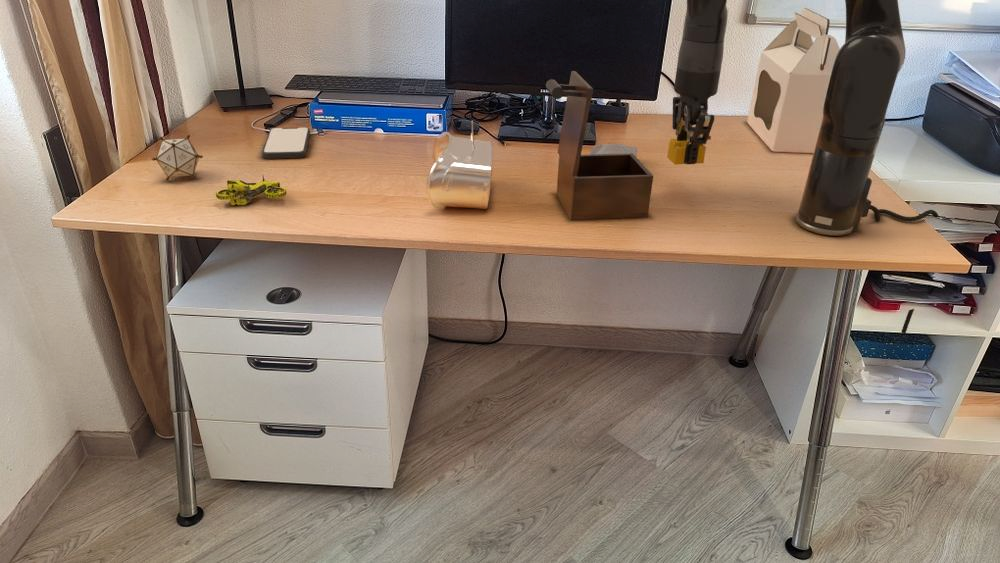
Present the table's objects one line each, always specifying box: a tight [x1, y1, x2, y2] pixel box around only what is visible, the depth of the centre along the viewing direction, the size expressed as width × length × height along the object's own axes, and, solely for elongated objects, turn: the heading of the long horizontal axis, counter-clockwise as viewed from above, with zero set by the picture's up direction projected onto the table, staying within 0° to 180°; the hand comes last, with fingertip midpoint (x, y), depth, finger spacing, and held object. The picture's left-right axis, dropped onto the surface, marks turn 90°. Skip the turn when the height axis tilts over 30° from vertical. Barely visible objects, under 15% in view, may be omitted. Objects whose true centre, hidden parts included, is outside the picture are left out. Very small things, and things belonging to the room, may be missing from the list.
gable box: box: [746, 7, 841, 154], centre depth 163 cm, size 22×13×28 cm, turn 178°
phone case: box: [261, 126, 311, 160], centre depth 154 cm, size 9×2×16 cm
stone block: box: [588, 142, 638, 158], centre depth 148 cm, size 12×5×10 cm
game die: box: [151, 134, 204, 182], centre depth 135 cm, size 9×8×10 cm
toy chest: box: [556, 153, 654, 221], centre depth 129 cm, size 14×12×8 cm
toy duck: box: [666, 131, 712, 165], centre depth 132 cm, size 7×4×6 cm, turn 99°
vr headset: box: [425, 120, 494, 210], centre depth 130 cm, size 18×11×14 cm, turn 1°
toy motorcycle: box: [215, 174, 288, 206], centre depth 128 cm, size 12×4×7 cm
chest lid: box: [545, 70, 594, 176], centre depth 122 cm, size 15×12×6 cm
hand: (685, 159), depth 133 cm, fingers closed on toy duck, 4 cm apart
